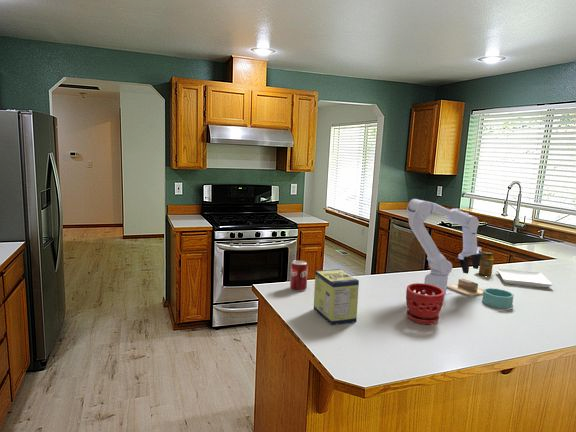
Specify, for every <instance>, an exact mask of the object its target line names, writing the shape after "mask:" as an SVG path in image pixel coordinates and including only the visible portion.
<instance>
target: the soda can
mask: <svg viewBox="0 0 576 432" xmlns="http://www.w3.org/2000/svg"><path fill="white" fill-rule="evenodd" d="M308 265H309V264H308V262H307V261H305V260H292V261H291V263H290V280H289V281H290V282H289V283H290V284H289V287H290V290H291V291H294V292H305V291H306V290H307V288H308V287H307V286H308V270H309V269H308V268H309V266H308Z"/></svg>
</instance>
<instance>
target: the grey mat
mask: <svg viewBox="0 0 576 432" xmlns="http://www.w3.org/2000/svg"><path fill="white" fill-rule="evenodd" d="M447 290H448V291H450V292H453V293H455V294H457V295H460V296H462V297H466V298H467V299H472V298H479V297H483V295H478V296H473V297H467V296H465V295H462V294H460V293H457V292H455V291H452V290H450V289H447ZM447 290H446V291H447Z"/></svg>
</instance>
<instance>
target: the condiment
mask: <svg viewBox="0 0 576 432" xmlns="http://www.w3.org/2000/svg"><path fill="white" fill-rule="evenodd" d="M481 253H483V256H482V258H481V260H480V264H479V268H478V272H477V273H473V275H475V276H478V277H481V278H487V279H490V278H491V277H494V276H495V275H494V274H492V273H493V265H494V253H493V252H490V251H482V252H481ZM492 275H493V276H492ZM485 276H487V277H485ZM490 276H491V277H490Z"/></svg>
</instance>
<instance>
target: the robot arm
mask: <svg viewBox="0 0 576 432" xmlns="http://www.w3.org/2000/svg"><path fill="white" fill-rule="evenodd" d="M406 211H407V214H408V216H407V217H408V226H409V227H410V229H411V231H412V233H413V234H414V236H415V237H416V239H417V241H418V243H419V244H420V246H421V247H422V249H423V250H424V252H425V253H426V256H427V257H426V260H427V261H428V267H429V268H430V273H428V274H426V275H425V276H424V281H423V284H430V285H434V286H437V287H439V288H441V289H442V290H443V291H444V295H447V294H448V295H450V294H451V291H450V292H449V290H448V291H447V286H448V278H449V275H450V273H451V272H452V270H453V264H452V262H451V261H449V260H447V258H446V257H445V256H444V255H443V254H442V253H441V251H440V250H439V248H438V247H437V244H435V242H434V240H433V238H432V236H431V235H430V234H429V232H428V230H427V228H426V226H425V225H424V223H425V221H426V220H427V218H428V217H429V216H430V214H434V213H437V214H439V215H441V216H444V217H446V219H447V220H448V221H449V222H452V223H454V224H456V225H459V226H460V227H462V252H460V253H459V254H458V255H457V258H456V259H457V262H458V263H459V264H460V267H461V271H462V273H463V274H469V271H470V265H471V264H472V268H473V269H476V270H479V267H480V260H481V258H482V256H483V253H482V252H483V251H482V247H480V246H478V236H477V235H478V233H477V232H478V227H479V225H480V221H479V219H478V217H477V216H475V215H471V214H470V213H469V212H467V211H465V212H464V211H462V210H461V209H460V208H458V207H456V208H451V209H450V208H446V207H444V206H442V205H440V204H438V203H436V202H431V201H428V200H423V199H418V198H412V199H411V200H410V201H409V202H408V204H407V207H406ZM468 257H470V258H471V259H470V258H468ZM470 263H471V264H470ZM423 292H425V290H423ZM432 294H433V295H435V293H434V292H432Z"/></svg>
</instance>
